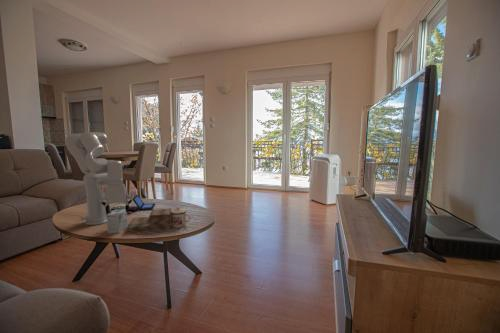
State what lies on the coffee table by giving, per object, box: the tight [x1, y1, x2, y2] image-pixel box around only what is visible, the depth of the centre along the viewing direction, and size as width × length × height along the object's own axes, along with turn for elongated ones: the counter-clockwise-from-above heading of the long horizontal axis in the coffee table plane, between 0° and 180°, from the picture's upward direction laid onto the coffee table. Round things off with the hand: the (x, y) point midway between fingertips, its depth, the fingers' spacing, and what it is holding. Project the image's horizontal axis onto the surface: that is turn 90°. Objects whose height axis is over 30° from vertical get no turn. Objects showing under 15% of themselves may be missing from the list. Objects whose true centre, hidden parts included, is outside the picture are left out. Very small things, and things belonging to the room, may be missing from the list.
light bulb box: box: [106, 208, 129, 234], centre depth 135 cm, size 11×7×11 cm, turn 4°
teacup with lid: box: [171, 205, 191, 229], centre depth 143 cm, size 12×9×12 cm
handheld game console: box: [132, 194, 156, 212], centre depth 180 cm, size 16×13×9 cm
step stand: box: [128, 207, 172, 236], centre depth 138 cm, size 22×17×9 cm
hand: (117, 212), depth 134 cm, fingers open, 9 cm apart
